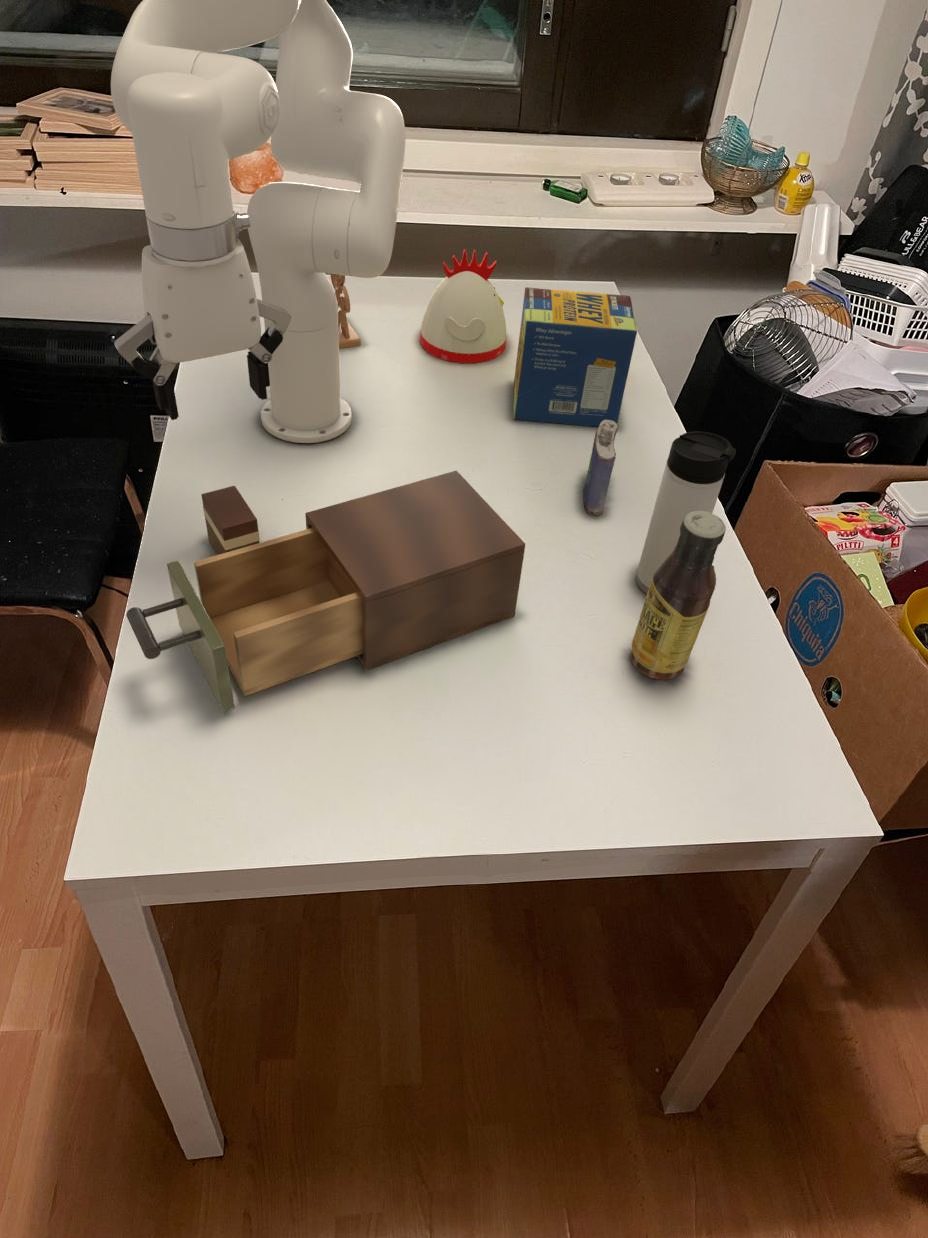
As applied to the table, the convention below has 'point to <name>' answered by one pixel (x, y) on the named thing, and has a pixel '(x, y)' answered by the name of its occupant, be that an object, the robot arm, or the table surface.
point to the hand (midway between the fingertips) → (215, 402)
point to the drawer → (261, 614)
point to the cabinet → (423, 563)
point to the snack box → (229, 520)
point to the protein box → (573, 356)
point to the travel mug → (683, 494)
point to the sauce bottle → (678, 599)
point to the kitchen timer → (465, 315)
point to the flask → (600, 468)
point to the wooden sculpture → (344, 314)
